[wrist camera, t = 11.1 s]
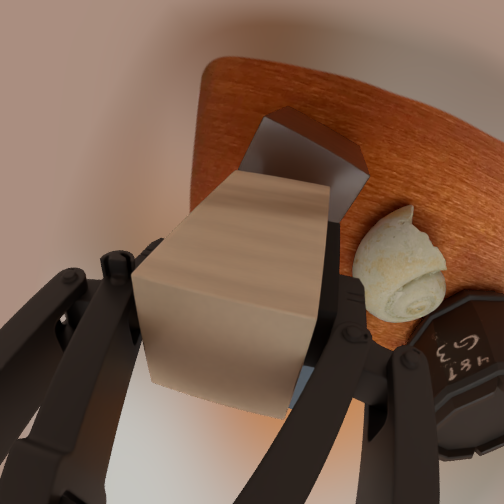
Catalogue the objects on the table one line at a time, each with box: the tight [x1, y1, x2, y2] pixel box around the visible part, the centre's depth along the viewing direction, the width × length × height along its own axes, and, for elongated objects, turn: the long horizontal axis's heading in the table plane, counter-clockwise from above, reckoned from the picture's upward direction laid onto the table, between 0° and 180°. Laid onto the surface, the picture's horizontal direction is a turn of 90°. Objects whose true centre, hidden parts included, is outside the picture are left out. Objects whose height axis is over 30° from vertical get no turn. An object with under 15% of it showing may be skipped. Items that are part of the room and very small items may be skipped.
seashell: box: [352, 205, 447, 323], centre depth 31 cm, size 13×8×10 cm
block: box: [131, 170, 330, 419], centre depth 13 cm, size 5×5×10 cm
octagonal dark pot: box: [406, 290, 504, 461], centre depth 30 cm, size 18×18×16 cm
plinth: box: [238, 106, 370, 223], centre depth 27 cm, size 8×8×11 cm
